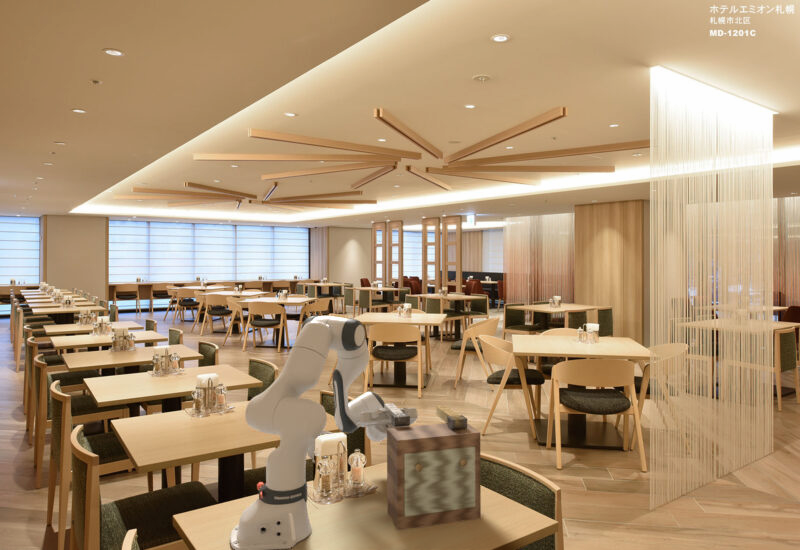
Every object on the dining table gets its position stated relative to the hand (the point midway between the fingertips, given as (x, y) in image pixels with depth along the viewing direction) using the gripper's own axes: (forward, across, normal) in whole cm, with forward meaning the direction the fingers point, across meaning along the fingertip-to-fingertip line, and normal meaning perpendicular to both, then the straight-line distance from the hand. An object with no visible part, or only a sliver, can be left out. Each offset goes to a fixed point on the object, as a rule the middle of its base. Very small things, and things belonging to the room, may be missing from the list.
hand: (392, 410), depth 176 cm
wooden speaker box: (+1, +8, +33) cm, 34 cm away
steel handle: (+1, 0, +3) cm, 3 cm away
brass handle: (+8, +16, +7) cm, 19 cm away
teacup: (-49, -21, +5) cm, 53 cm away
